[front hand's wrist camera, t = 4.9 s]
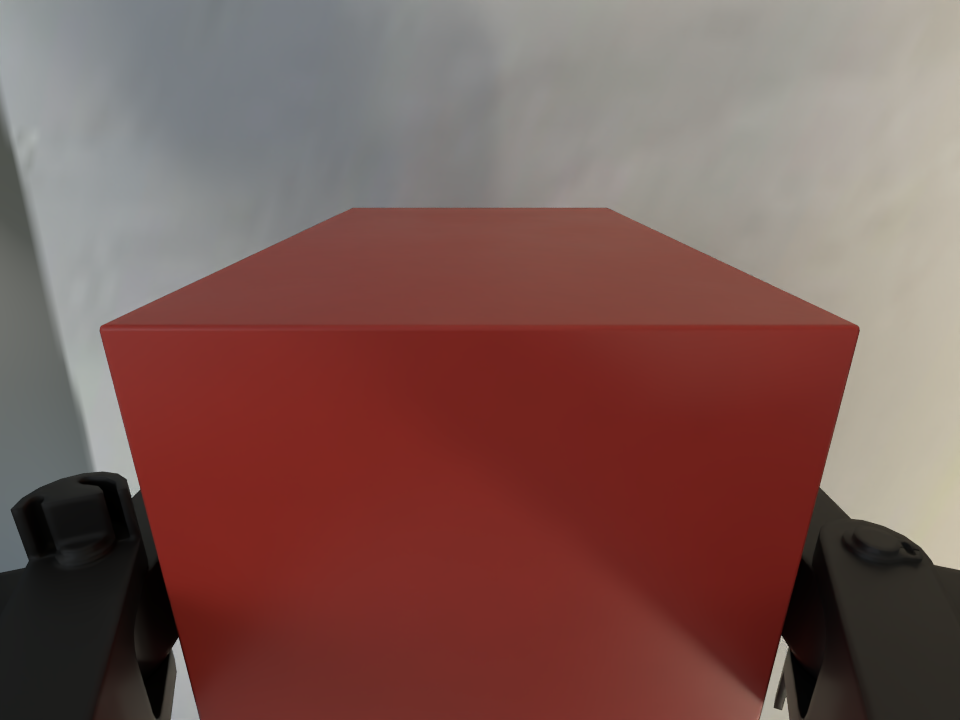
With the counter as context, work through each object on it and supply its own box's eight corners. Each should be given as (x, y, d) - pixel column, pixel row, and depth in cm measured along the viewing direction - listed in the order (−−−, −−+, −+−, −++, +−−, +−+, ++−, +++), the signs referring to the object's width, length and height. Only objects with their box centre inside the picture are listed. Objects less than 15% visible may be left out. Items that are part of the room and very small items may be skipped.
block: (608, 208, 16) (864, 326, 5) (587, 468, 19) (722, 870, 8) (351, 207, 16) (95, 325, 5) (372, 468, 19) (237, 870, 8)
